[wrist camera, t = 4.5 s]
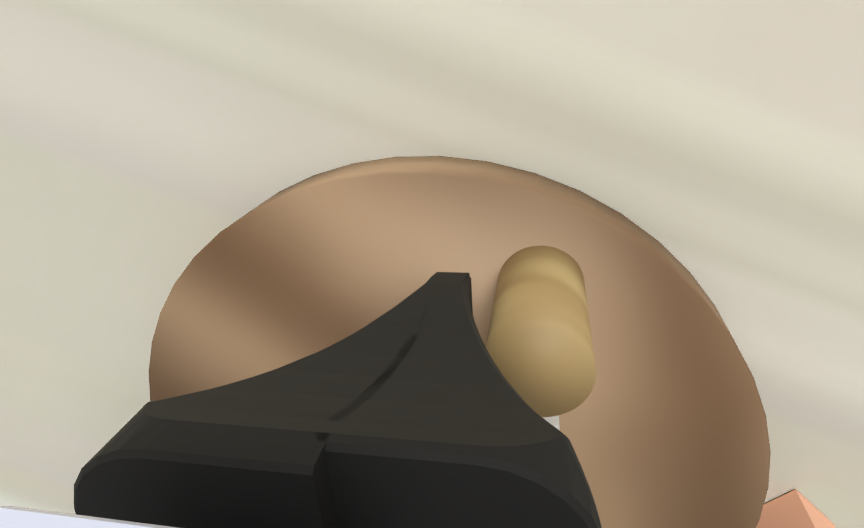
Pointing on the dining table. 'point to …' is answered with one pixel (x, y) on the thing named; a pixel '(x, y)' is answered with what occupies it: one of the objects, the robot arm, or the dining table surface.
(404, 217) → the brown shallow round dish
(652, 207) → the dining table surface
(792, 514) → the salmon block
